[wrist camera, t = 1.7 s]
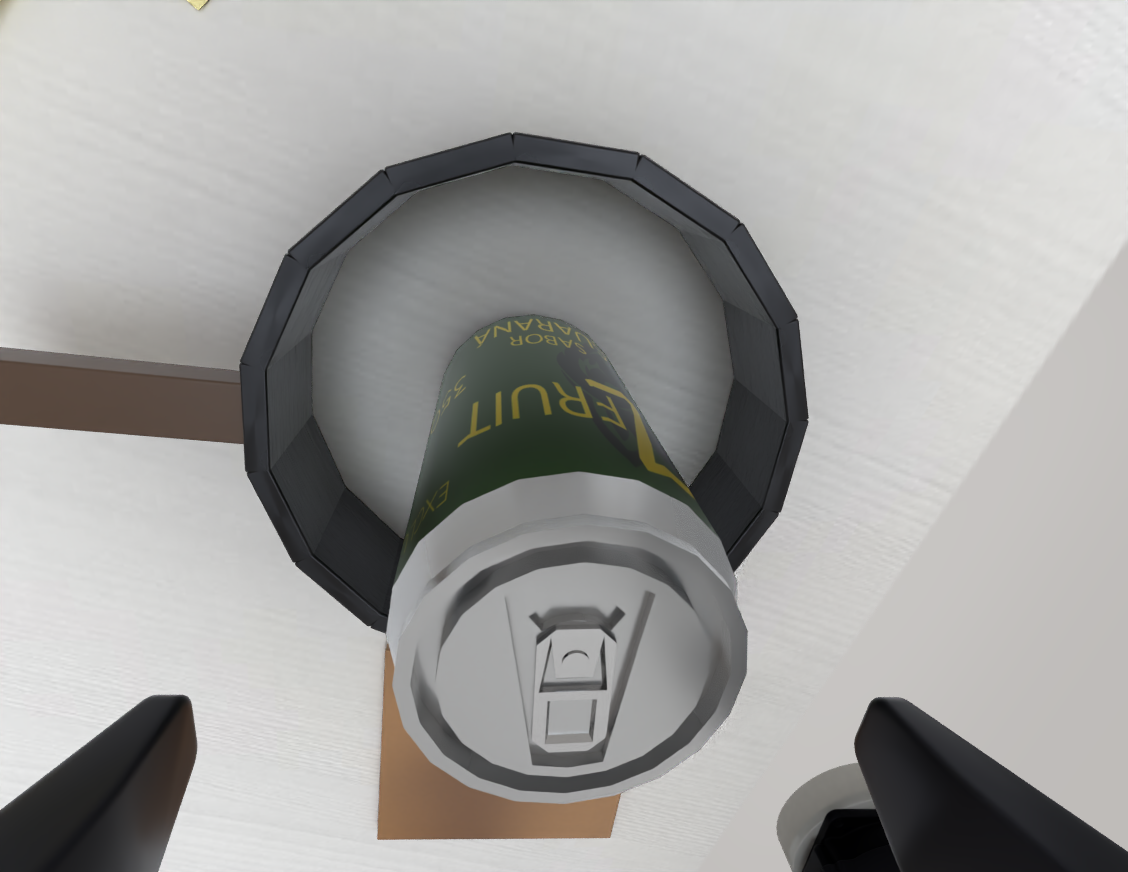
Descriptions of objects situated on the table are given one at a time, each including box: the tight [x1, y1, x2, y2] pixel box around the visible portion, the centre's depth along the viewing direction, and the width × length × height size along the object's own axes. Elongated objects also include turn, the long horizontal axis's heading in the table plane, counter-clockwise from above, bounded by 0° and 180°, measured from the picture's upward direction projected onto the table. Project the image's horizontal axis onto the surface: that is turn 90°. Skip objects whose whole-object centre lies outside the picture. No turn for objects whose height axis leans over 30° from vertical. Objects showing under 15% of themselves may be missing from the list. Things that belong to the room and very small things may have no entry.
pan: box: [0, 132, 808, 633], centre depth 17 cm, size 21×14×4 cm
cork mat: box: [377, 644, 621, 840], centre depth 25 cm, size 10×10×1 cm
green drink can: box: [386, 315, 747, 804], centre depth 14 cm, size 5×5×12 cm
